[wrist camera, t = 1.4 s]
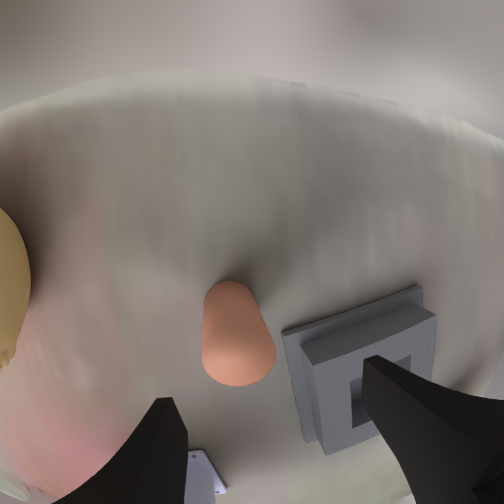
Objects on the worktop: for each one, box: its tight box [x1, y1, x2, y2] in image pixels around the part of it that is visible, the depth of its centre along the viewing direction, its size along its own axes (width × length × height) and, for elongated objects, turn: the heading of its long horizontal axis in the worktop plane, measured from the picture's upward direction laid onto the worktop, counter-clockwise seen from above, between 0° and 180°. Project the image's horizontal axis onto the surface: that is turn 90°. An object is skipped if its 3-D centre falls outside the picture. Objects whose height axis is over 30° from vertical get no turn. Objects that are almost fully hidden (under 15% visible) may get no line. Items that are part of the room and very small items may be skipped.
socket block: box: [281, 285, 436, 456], centre depth 20 cm, size 12×12×4 cm
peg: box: [202, 281, 276, 386], centre depth 16 cm, size 3×3×7 cm
